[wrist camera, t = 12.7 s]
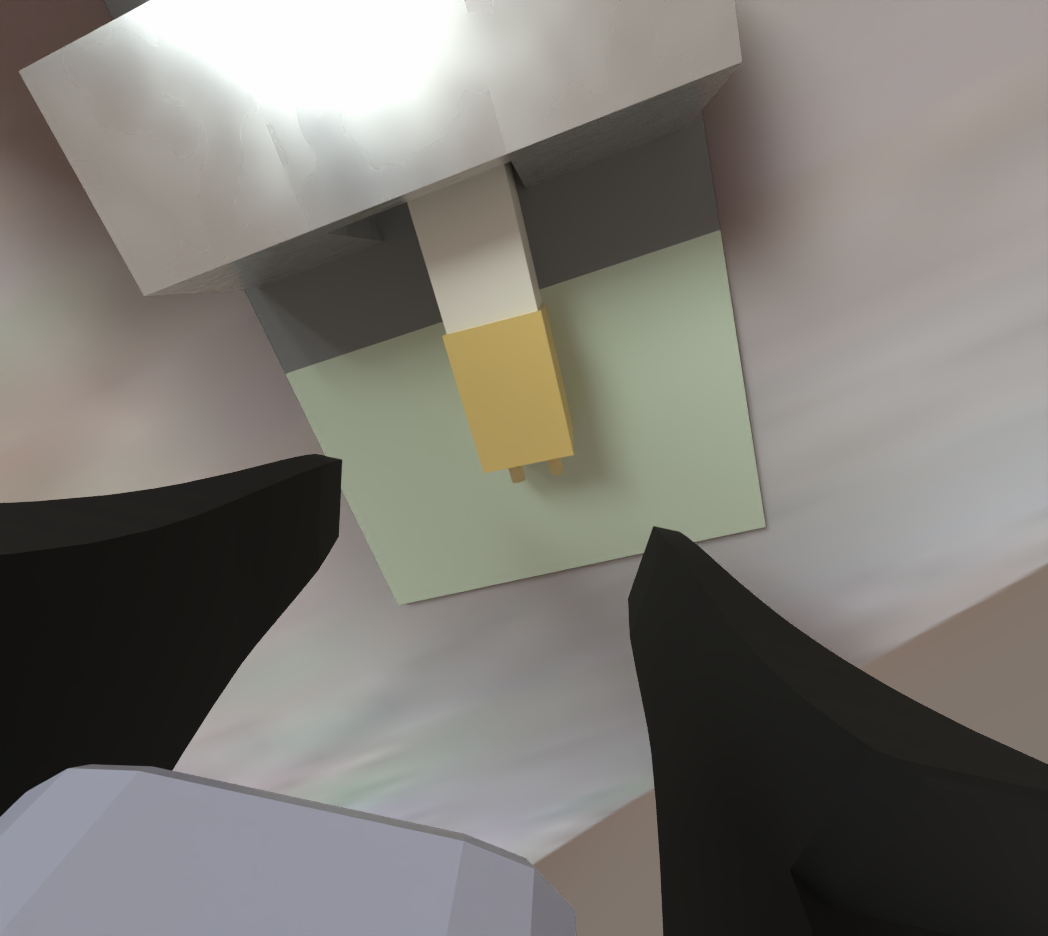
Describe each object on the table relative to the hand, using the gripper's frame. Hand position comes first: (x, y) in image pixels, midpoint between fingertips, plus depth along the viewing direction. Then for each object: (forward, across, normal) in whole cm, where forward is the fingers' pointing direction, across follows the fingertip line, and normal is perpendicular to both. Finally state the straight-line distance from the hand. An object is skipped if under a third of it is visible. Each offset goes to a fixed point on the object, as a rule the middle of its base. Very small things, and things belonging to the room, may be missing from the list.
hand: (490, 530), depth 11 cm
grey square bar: (+8, +5, -9) cm, 13 cm away
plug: (+8, +2, -6) cm, 10 cm away
